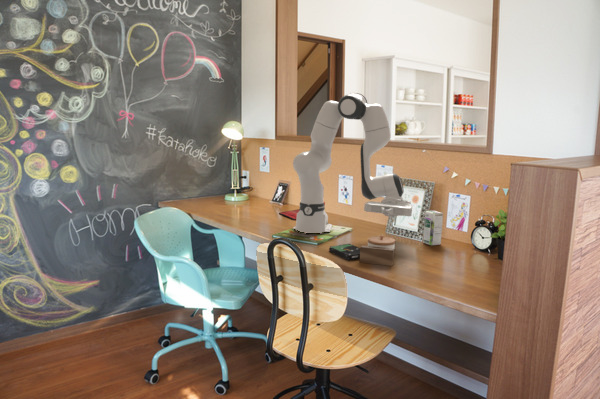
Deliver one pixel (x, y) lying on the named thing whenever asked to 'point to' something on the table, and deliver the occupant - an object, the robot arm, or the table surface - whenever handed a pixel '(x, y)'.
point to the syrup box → (433, 227)
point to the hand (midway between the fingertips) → (385, 212)
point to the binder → (290, 214)
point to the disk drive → (346, 251)
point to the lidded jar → (381, 242)
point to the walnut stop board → (376, 255)
